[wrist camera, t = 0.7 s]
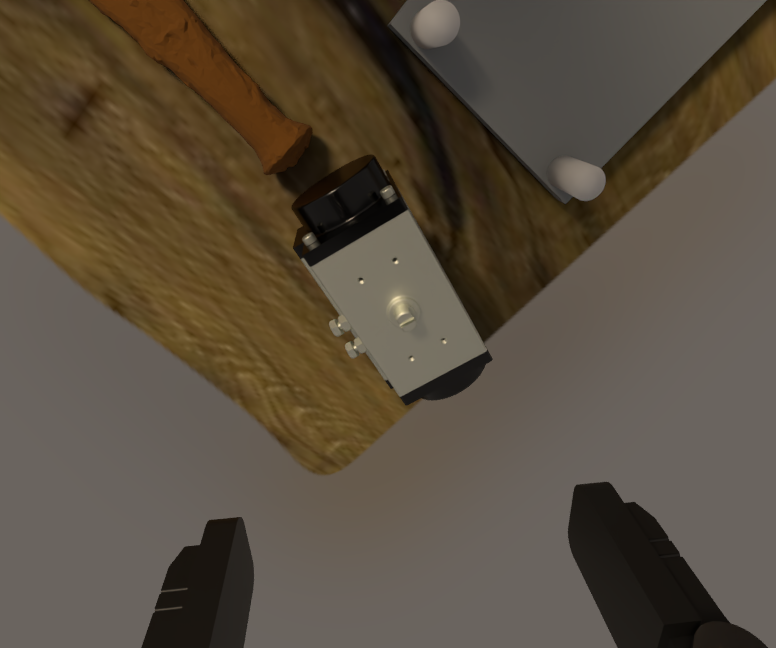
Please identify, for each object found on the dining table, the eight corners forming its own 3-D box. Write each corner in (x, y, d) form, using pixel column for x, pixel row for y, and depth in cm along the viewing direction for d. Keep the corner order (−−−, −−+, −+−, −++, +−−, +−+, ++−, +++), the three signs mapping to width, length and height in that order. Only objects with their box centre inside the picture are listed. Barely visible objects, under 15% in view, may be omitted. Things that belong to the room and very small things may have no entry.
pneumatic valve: (367, 133, 30) (385, 168, 19) (457, 294, 35) (512, 395, 24) (286, 183, 30) (259, 245, 20) (386, 334, 35) (407, 449, 25)
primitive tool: (-51, -116, 24) (-110, -145, 21) (10, -228, 22) (-42, -278, 19) (279, 179, 31) (273, 191, 28) (341, 107, 29) (343, 111, 26)
